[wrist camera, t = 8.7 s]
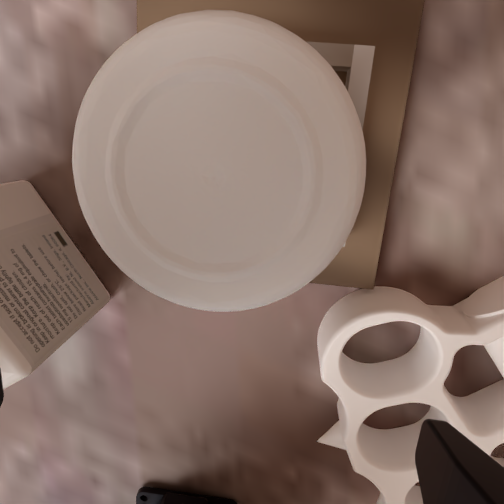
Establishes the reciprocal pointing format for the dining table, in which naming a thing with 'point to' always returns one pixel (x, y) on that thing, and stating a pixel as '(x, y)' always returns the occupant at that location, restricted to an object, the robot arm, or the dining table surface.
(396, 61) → the brown flat square frame
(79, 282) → the container
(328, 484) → the dining table surface
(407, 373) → the white compartment tray
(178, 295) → the sprinkles bottle
